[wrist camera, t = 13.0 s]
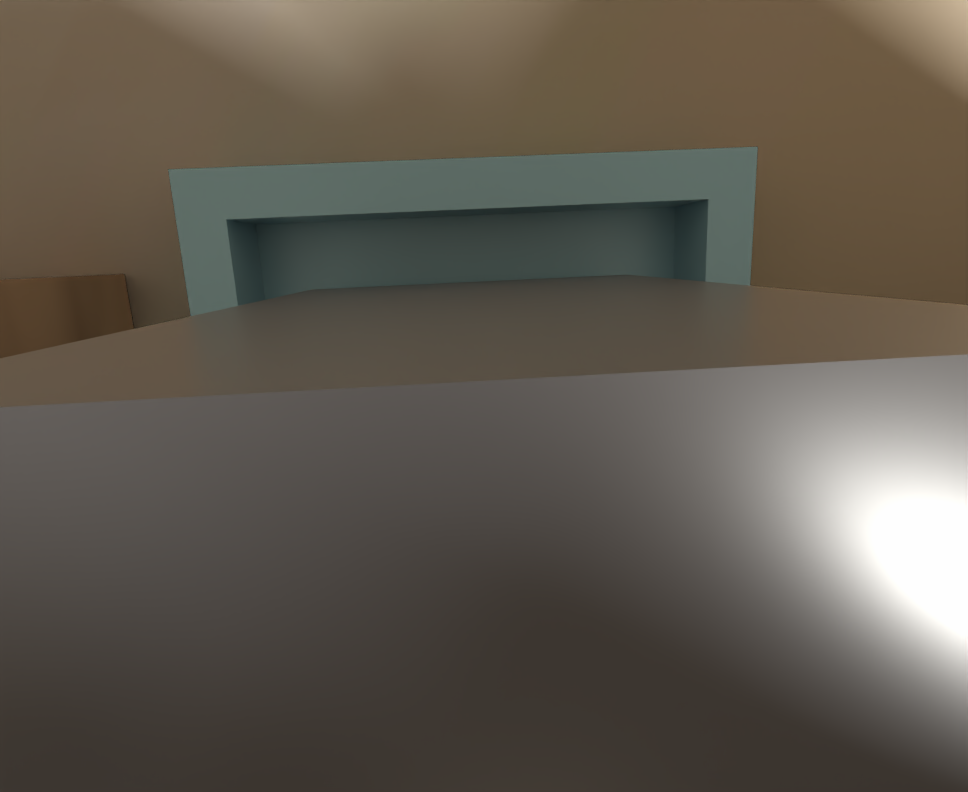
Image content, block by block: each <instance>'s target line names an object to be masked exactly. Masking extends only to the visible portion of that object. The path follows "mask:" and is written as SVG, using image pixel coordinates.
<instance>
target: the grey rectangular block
mask: <svg viewBox="0 0 968 792" xmlns="http://www.w3.org/2000/svg"><path fill="white" fill-rule="evenodd" d="M0 792H968V305H965V304H953V303H942V302H931V301H919V300H908V299H897V298H885V297H874V296H863V295H852V294H840V293H829V292H818V291H806V290H795V289H784V288H773V287H761V286H750V285H739V284H727V283H716V282H705V281H693V280H682V279H671V278H660V277H648V276H637V275H608V276H587V277H566V278H545V279H523V280H502V281H481V282H460V283H439V284H418V285H397V286H376V287H355V288H333V289H312V290H307V291H303V292H298V293H294V294H289V295H285V296H280V297H276V298H271V299H267V300H262V301H257V302H253V303H248V304H244V305H239V306H235V307H230V308H226V309H221V310H217V311H212V312H208V313H203V314H199V315H194V316H190V317H185V318H181V319H176V320H172V321H167V322H162V323H158V324H153V325H149V326H144V327H140V328H135V329H131V330H126V331H122V332H117V333H113V334H108V335H104V336H99V337H95V338H90V339H86V340H81V341H77V342H72V343H67V344H63V345H58V346H54V347H49V348H45V349H40V350H36V351H31V352H27V353H22V354H18V355H13V356H9V357H4V358H0Z"/></svg>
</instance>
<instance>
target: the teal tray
mask: <svg viewBox="0 0 968 792" xmlns="http://www.w3.org/2000/svg"><path fill="white" fill-rule="evenodd" d="M757 152H758V147H735V148H709V149H683V150H657V151H631V152H605V153H579V154H553V155H527V156H501V157H475V158H449V159H423V160H397V161H371V162H345V163H319V164H293V165H267V166H241V167H215V168H189V169H168V172H169V179H170V185H171V192H172V198H173V205H174V211H175V218H176V224H177V231H178V237H179V244H180V250H181V257H182V263H183V270H184V276H185V283H186V289H187V296H188V302H189V309H190V315H191V316H194V315H199V314H203V313H208V312H212V311H217V310H221V309H226V308H230V307H235V306H239V305H244V304H248V303H253V302H257V301H262V300H267V299H271V298H276V297H280V296H285V295H289V294H294V293H298V292H303V291H307V290H312V289H333V288H355V287H376V286H397V285H418V284H439V283H460V282H481V281H502V280H523V279H545V278H566V277H587V276H608V275H637V276H648V277H660V278H671V279H682V280H693V281H705V282H716V283H727V284H739V285H750V279H751V261H752V243H753V225H754V207H755V189H756V170H757Z"/></svg>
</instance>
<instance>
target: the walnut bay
mask: <svg viewBox="0 0 968 792" xmlns="http://www.w3.org/2000/svg"><path fill="white" fill-rule="evenodd" d="M131 329H134V327H133V321H132V315H131V310H130V304H129V298H128V293H127V287H126V281H125V276H124V274H119V275H97V276H75V277H53V278H31V279H9V280H0V358H4V357H9V356H13V355H18V354H22V353H27V352H31V351H36V350H40V349H45V348H49V347H54V346H58V345H63V344H67V343H72V342H77V341H81V340H86V339H90V338H95V337H99V336H104V335H108V334H113V333H117V332H122V331H126V330H131Z"/></svg>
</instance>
